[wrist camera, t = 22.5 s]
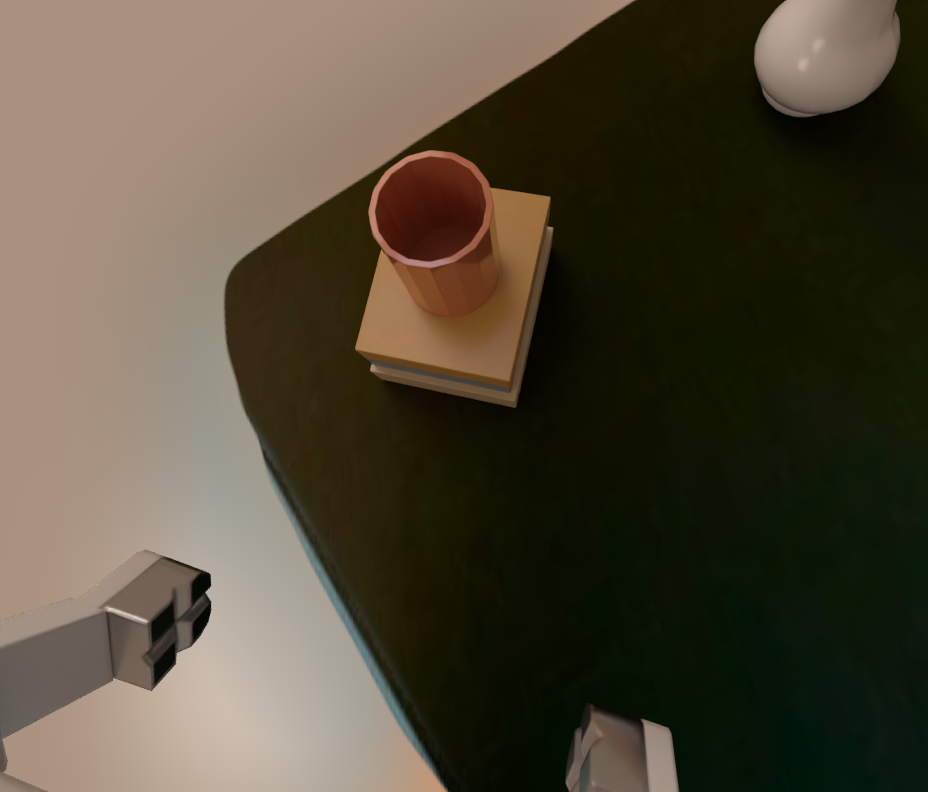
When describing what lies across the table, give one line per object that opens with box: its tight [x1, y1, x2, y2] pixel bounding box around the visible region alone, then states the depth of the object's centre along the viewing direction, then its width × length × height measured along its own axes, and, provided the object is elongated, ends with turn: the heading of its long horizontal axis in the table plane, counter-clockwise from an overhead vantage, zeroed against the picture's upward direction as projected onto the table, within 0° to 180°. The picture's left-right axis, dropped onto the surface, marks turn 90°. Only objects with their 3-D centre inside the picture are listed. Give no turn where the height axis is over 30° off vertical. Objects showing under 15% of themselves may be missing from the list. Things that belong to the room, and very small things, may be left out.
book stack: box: [355, 188, 553, 408], centre depth 39 cm, size 11×13×9 cm
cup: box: [368, 150, 501, 317], centre depth 31 cm, size 6×6×8 cm
